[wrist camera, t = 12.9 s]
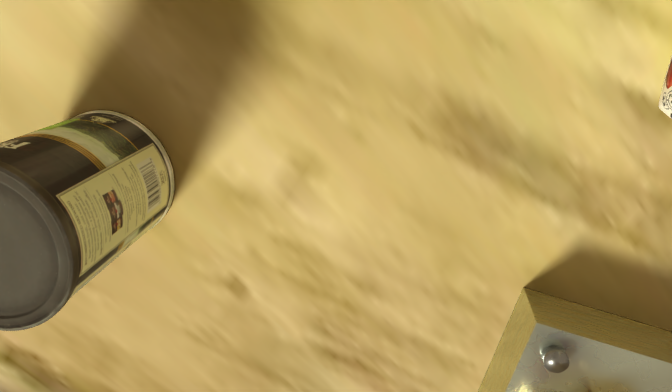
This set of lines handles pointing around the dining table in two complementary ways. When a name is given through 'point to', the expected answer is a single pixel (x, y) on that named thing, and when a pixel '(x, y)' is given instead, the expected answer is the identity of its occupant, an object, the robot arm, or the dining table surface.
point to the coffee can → (74, 208)
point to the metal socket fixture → (577, 351)
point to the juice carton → (667, 92)
